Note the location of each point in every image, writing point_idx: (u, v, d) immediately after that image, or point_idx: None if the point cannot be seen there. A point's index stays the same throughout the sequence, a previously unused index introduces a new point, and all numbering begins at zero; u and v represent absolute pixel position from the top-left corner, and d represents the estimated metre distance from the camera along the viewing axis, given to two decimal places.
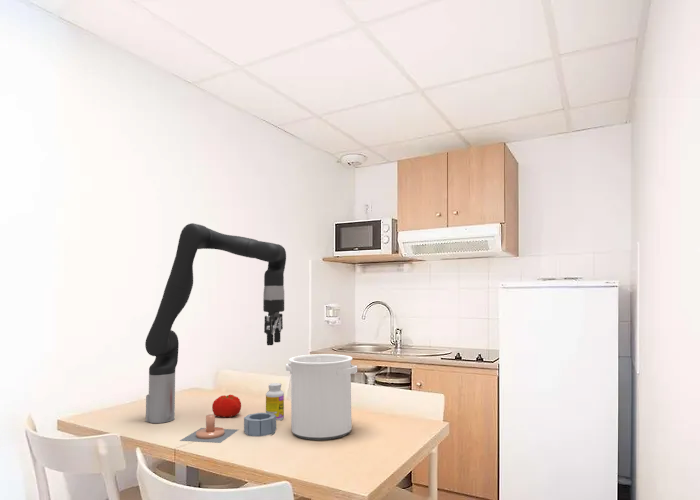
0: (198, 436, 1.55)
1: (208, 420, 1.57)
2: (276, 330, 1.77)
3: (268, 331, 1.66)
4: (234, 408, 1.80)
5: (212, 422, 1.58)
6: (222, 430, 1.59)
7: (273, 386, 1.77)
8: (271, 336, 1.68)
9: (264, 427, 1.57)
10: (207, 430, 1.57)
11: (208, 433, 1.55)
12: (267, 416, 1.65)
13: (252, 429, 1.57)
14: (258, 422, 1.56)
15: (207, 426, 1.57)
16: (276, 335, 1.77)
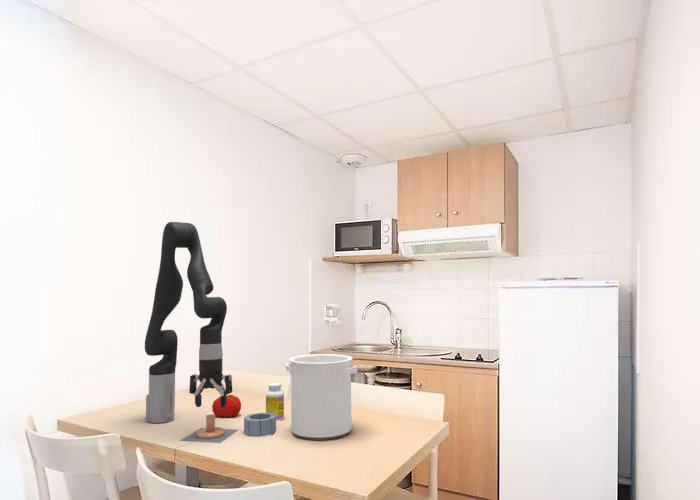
0: (198, 436, 1.55)
1: (208, 420, 1.57)
2: (198, 393, 1.60)
3: (230, 391, 1.58)
4: (234, 408, 1.80)
5: (212, 422, 1.58)
6: (222, 430, 1.59)
7: (273, 386, 1.77)
8: None
9: (264, 427, 1.57)
10: (207, 430, 1.57)
11: (208, 433, 1.55)
12: (267, 416, 1.65)
13: (252, 429, 1.57)
14: (258, 422, 1.56)
15: (207, 426, 1.57)
16: (199, 399, 1.59)
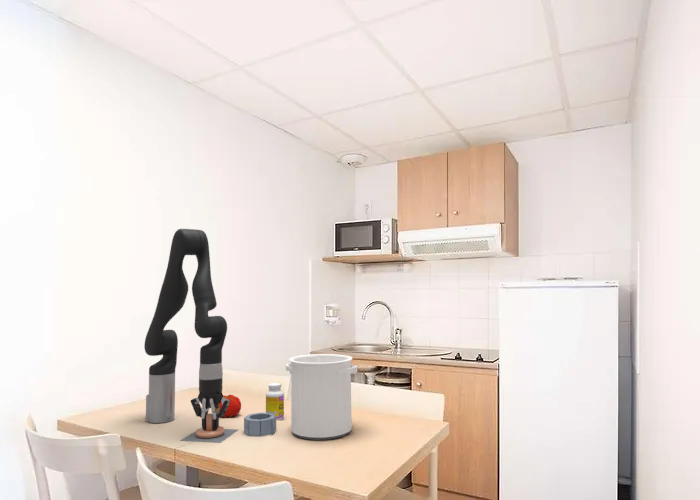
0: (198, 435, 1.55)
1: (207, 418, 1.57)
2: (205, 416, 1.59)
3: (222, 415, 1.58)
4: (234, 408, 1.80)
5: None
6: (222, 429, 1.59)
7: (273, 386, 1.77)
8: None
9: (264, 427, 1.57)
10: (207, 429, 1.57)
11: (208, 432, 1.55)
12: (267, 416, 1.65)
13: (252, 429, 1.57)
14: (258, 422, 1.56)
15: (207, 425, 1.57)
16: None
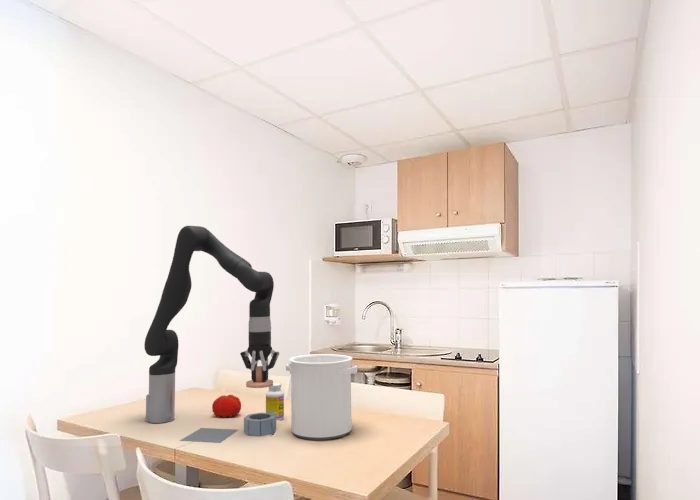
0: (249, 385, 1.59)
1: (257, 370, 1.61)
2: (255, 368, 1.63)
3: (272, 367, 1.62)
4: (234, 408, 1.80)
5: None
6: (271, 381, 1.63)
7: (273, 386, 1.77)
8: None
9: (264, 427, 1.57)
10: (257, 380, 1.61)
11: (258, 383, 1.59)
12: (267, 416, 1.65)
13: (252, 429, 1.57)
14: (258, 422, 1.56)
15: (257, 377, 1.61)
16: (255, 374, 1.63)
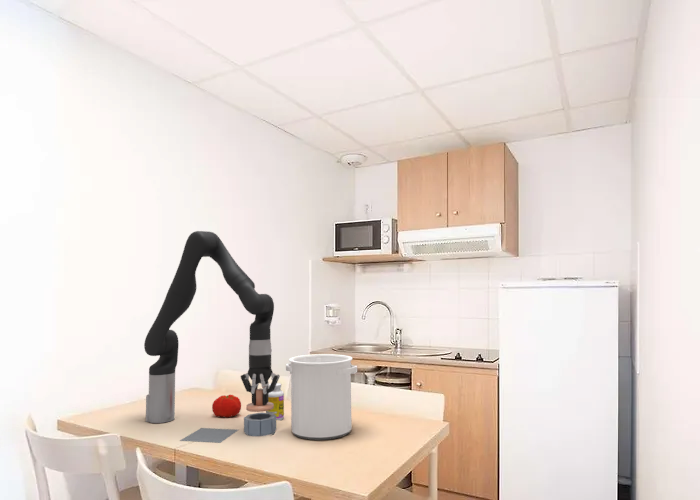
0: (249, 409, 1.58)
1: (258, 393, 1.61)
2: (255, 391, 1.62)
3: (272, 390, 1.62)
4: (234, 408, 1.80)
5: (262, 396, 1.61)
6: (271, 404, 1.62)
7: None
8: None
9: (264, 427, 1.57)
10: (257, 403, 1.61)
11: (259, 407, 1.59)
12: (267, 416, 1.65)
13: (252, 429, 1.57)
14: (258, 422, 1.56)
15: (257, 400, 1.61)
16: None
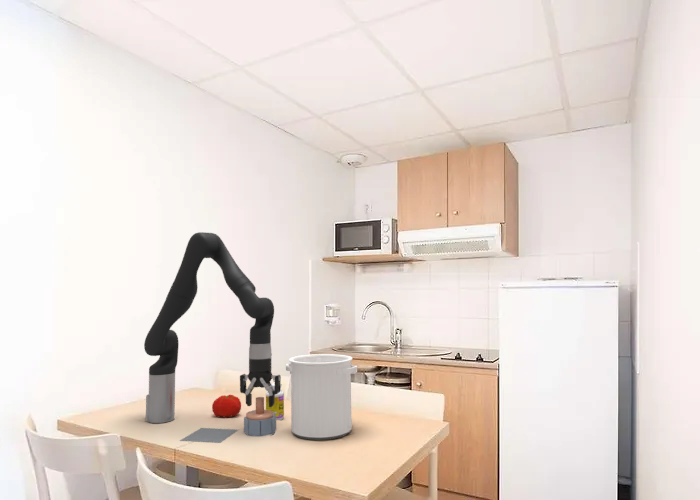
0: (249, 417, 1.58)
1: (257, 401, 1.61)
2: (249, 393, 1.63)
3: (279, 391, 1.61)
4: (234, 408, 1.80)
5: (262, 404, 1.61)
6: (271, 412, 1.62)
7: (273, 386, 1.77)
8: None
9: (264, 427, 1.57)
10: (257, 412, 1.60)
11: (259, 415, 1.59)
12: None
13: (252, 429, 1.57)
14: (258, 422, 1.56)
15: (257, 408, 1.61)
16: (250, 398, 1.63)
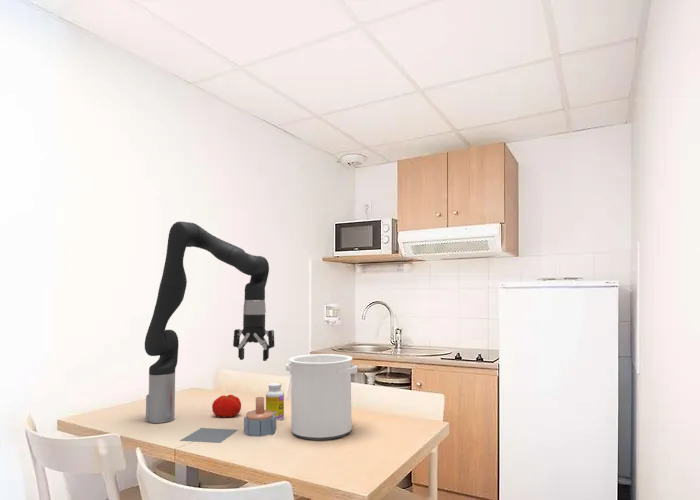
0: (249, 417, 1.58)
1: (257, 401, 1.61)
2: (242, 347, 1.67)
3: (273, 346, 1.65)
4: (234, 408, 1.80)
5: (262, 404, 1.61)
6: (271, 412, 1.62)
7: (273, 386, 1.77)
8: None
9: (264, 427, 1.57)
10: (257, 412, 1.60)
11: (259, 415, 1.59)
12: None
13: (252, 429, 1.57)
14: (258, 422, 1.56)
15: (257, 408, 1.61)
16: (242, 352, 1.67)
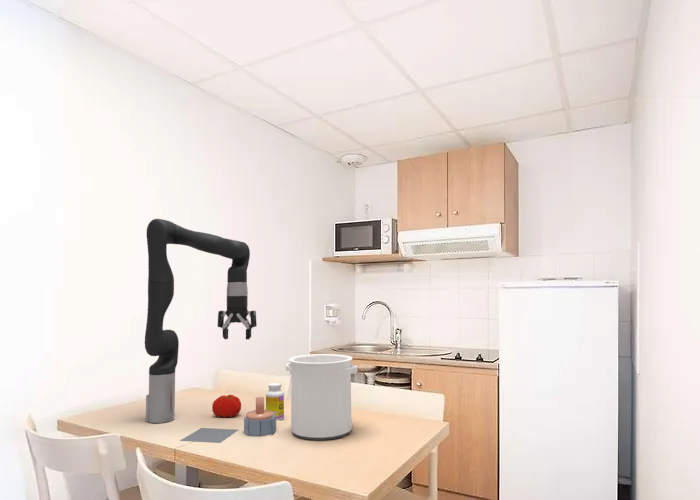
0: (249, 417, 1.58)
1: (257, 401, 1.61)
2: (226, 327, 1.77)
3: (255, 325, 1.75)
4: (234, 408, 1.80)
5: (262, 404, 1.61)
6: (271, 412, 1.62)
7: (273, 386, 1.77)
8: None
9: (264, 427, 1.57)
10: (257, 412, 1.60)
11: (259, 415, 1.59)
12: None
13: (252, 429, 1.57)
14: (258, 422, 1.56)
15: (257, 408, 1.61)
16: (226, 332, 1.77)
